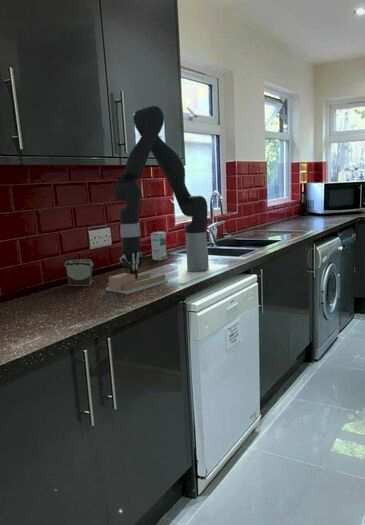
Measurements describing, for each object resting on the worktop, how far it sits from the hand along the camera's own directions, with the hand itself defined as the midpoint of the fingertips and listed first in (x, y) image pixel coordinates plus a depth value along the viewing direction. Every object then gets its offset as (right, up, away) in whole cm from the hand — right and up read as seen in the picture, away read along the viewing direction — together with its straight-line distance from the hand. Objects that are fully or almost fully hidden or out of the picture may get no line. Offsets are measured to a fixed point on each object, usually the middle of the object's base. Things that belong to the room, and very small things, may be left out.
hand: (134, 279), depth 170 cm
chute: (+1, -3, +2) cm, 4 cm away
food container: (-22, -3, +11) cm, 25 cm away
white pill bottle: (+7, +8, +61) cm, 62 cm away
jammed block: (-4, -3, -4) cm, 6 cm away
